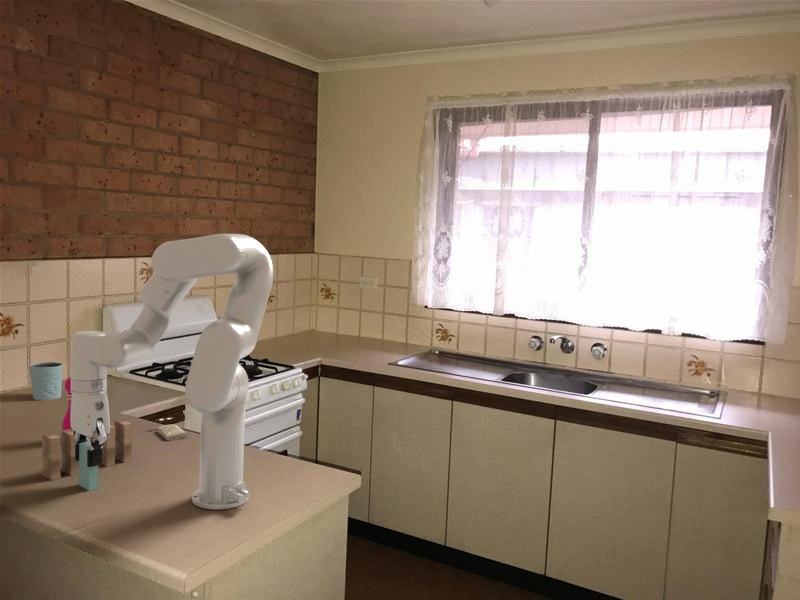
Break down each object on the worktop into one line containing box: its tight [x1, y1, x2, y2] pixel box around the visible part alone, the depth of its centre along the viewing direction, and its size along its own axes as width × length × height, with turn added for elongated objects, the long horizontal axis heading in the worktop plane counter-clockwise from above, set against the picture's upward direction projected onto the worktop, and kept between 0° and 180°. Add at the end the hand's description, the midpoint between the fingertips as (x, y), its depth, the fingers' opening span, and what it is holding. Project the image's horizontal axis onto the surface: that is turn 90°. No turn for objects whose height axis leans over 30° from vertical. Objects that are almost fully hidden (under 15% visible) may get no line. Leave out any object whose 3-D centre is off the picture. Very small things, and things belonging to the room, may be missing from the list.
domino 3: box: [78, 441, 99, 492], centre depth 155 cm, size 5×2×10 cm, turn 51°
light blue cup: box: [29, 361, 64, 401], centre depth 230 cm, size 10×10×12 cm
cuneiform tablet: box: [154, 416, 188, 442], centre depth 196 cm, size 6×4×12 cm
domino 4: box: [96, 424, 116, 468], centre depth 170 cm, size 5×2×10 cm, turn 51°
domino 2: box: [61, 429, 79, 477], centre depth 163 cm, size 5×2×10 cm, turn 51°
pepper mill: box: [61, 376, 72, 431], centre depth 187 cm, size 7×7×20 cm
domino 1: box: [41, 432, 62, 481], centre depth 160 cm, size 5×2×10 cm, turn 51°
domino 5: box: [113, 419, 133, 463], centre depth 174 cm, size 5×2×10 cm, turn 51°
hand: (88, 461), depth 155 cm, fingers closed on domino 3, 4 cm apart
